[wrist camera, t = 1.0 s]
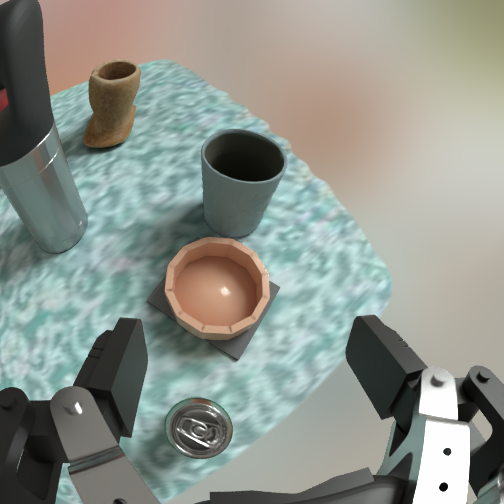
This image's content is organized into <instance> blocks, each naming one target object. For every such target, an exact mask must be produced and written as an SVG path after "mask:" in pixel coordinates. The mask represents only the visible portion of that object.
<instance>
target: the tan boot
mask: <svg viewBox="0 0 504 504" xmlns="http://www.w3.org/2000/svg"><path fill="white" fill-rule="evenodd" d="M140 75H141V71H140V68H139V66H138V65H137V64H135V63H133V62H131V61H127V60H112V61H108V62H105V63H102V64H100V65H99V66H97V67H96V68H95V69H94V70H93V72H92V74H91V76H90V79H89V101H90V105H91V108H92V110H93V112H94V113H93V115H92V117H91V120H90V122H89V124H88V126H87V129H86V132H85V135H84V144H85V145H86V146H88V147H93V148H103V147H110V146H114V145H116V144H119V143H122V142H124V141H125V140H126V139H127V137H128V136H129V134H130V132H131V129H132V126H133V122H134V116H135V111H136V106H135V105H133V101H134V99H135V96H136V94H137V91H138V88H139V83H140Z"/></svg>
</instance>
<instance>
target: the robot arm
mask: <svg viewBox="0 0 504 504" xmlns="http://www.w3.org/2000/svg"><path fill="white" fill-rule="evenodd" d="M43 38H44V35H43V19H42V12H41V8H40V4H39V2H38V0H10V1H8V2H6V3H3V4H2V5H0V91H1V90H3V89H5V88H6V93H7V99H8V105H7V106H6V107H5V108H4V109H3V110H2V111H1V112H0V186H1V188H2V190H3V191H4V193H5V195H6V196H7V198H8V200H9V201H10V203H11V205H12V206H13V208H14V209H15V211H16V212H17V214H18V215H19V217H20V219H21V220H22V222H23V223H24V224H25V226H26V227H27V229H28V230H29V232H30V233H31V235H32V236H33V237H34V239H35V240H36V241H37V243H38V244H39V245H40V247H41V248H42V249H43V250H45V251H46V252H49V253H60V252H63V251H66V250H68V249H69V248H71V247H72V246H74V245H75V244H76V243H77V242H78V241H79V240H80V238H81V237H82V236H83V234H84V232H85V230H86V227H87V222H88V218H87V213H86V210H85V208H84V206H83V203H82V201H81V198H80V195H79V193H78V190H77V188H76V185H75V182H74V180H73V177H72V174H71V171H70V169H69V166H68V163H67V160H66V157H65V154H64V151H63V148H62V144H61V141H60V138H59V135H58V131H57V128H56V124H55V121H54V117H53V113H52V109H51V102H50V93H49V87H48V81H47V75H46V67H45V57H44V39H43ZM346 359H347V362H348V364H349V365H350V367H351V369H352V370H353V372H354V374H355V375H356V377H357V379H358V380H359V382H360V384H361V385H362V387H363V389H364V390H365V392H366V394H367V396H368V397H369V399H370V400H371V402H372V404H373V406H374V408H375V409H376V411H377V413H378V414H379V416H380V418H381V419H382V420H383V419H386V418H389V417H392V416H394V418H395V421H394V422H393V424H392V427H391V432H390V436H389V440H388V444H387V449H386V452H385V456H384V459H383V463H382V465H381V467H380V469H379V470H378V472H377V473H376V475H372V474H371V472H370V470H369V468H368V467H367V468H365V469H361V470H358V471H354V472H351V473H347V474H344V475H340V476H336V477H334V478H331V479H329V480H327V481H325V482H323V483H321V484H319V485H317V486H315V487H312V488H310V489H308V490H306V491H303V492H301V493H297V494H288V493H272V492H262V491H253V490H252V491H235V492H210V500H207V501H202V502H198V503H195V504H466V496H467V487H468V482H469V483H470V485H471V487H472V489H473V491H474V493H475V495H476V496H477V500H476V501H475V502H474V503H473V504H504V385H503V384H502V382H501V381H500V380H499V379H498V378H497V377H496V376H495V375H494V374H493V373H492V372H491V371H490V370H489V369H487V368H485V367H483V366H473V367H472V368H471V369H470V371H469V372H468V374H467V376H466V377H465V378H453V376H452V375H451V374H450V373H449V372H447V371H446V370H444V369H442V368H438V367H430V368H428V367H427V366H426V365H425V364H424V362H423V361H422V360H421V359H420V358H419V357H418V356H417V355H416V353H415V352H414V351H413V350H412V349H411V348H410V347H408V344H407V343H406V342H405V341H403V339H402V338H401V337H400V336H399V335H398V334H397V333H396V331H394V330H392V329H391V328H389V327H387V326H386V325H384V324H383V323H382V322H381V320H380V319H379V318H378V317H377V316H376V315H366V316H357V317H356V318H355V320H354V322H353V326H352V329H351V333H350V336H349V340H348V343H347V346H346ZM147 364H148V355H147V349H146V344H145V338H144V332H143V326H142V322H141V320H140V319H134V318H119V320H118V322H117V324H116V326H115V328H114V330H113V331H112V330H106V331H105V332H104V333H102V334H101V335H100V336H99V337H98V338H97V339H96V341H95V343H94V345H93V346H92V349H91V350H90V352H89V354H88V357H87V358H86V360H85V362H84V364H83V366H82V368H81V370H80V372H79V374H78V376H77V378H76V380H75V382H74V384H73V386H70V387H65V388H63V389H61V390H59V391H58V392H56V393H55V395H54V396H53V397H52V399H51V400H42V401H29V399H28V398H27V396H26V394H25V393H24V392H23V391H22V390H21V389H19V388H15V387H9V388H5V389H3V390H1V391H0V504H55V500H56V494H57V489H58V483H59V478H60V474H61V469H62V465H63V463H70V466H69V467H68V472H69V475H70V477H71V480H72V482H73V484H74V486H75V488H76V490H77V492H78V494H79V496H80V498H81V500H82V502H83V503H84V504H161V503H160V502H159V501H158V500H157V498H156V497H155V496H154V495H153V493H152V492H151V491H150V489H149V488H148V487H147V486H146V484H145V483H144V482H143V480H142V479H141V477H140V476H139V475H138V473H137V472H136V470H135V469H134V467H133V466H132V464H131V463H130V461H129V460H128V458H127V457H126V455H125V454H124V452H123V451H122V449H121V448H120V446H119V441H120V437H121V436H123V437H129V438H131V437H132V431H133V427H134V422H135V417H136V412H137V408H138V403H139V399H140V395H141V391H142V386H143V382H144V378H145V374H146V370H147ZM479 409H480V410H481V412H482V413H483V414H484V416H485V417H486V419H487V420H488V421H489V423H490V424H491V426H492V429H493V431H492V435H491V437H490V438H489V439H488V440H487V442H486V441H485V439H484V438H483V437H482V435H481V434H480V432H479V431H478V429H477V428H476V426H475V425H474V423H473V422H472V418H473V417H474V416H475V414H476V413H477V412H478V410H479ZM23 449H24V450H23ZM22 451H23V453H22ZM21 454H22V456H21ZM20 457H21V459H20ZM19 460H20V463H19ZM18 464H19V466H18ZM17 467H18V469H17ZM16 472H17V473H16Z"/></svg>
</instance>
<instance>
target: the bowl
mask: <svg viewBox="0 0 504 504" xmlns="http://www.w3.org/2000/svg"><path fill="white" fill-rule="evenodd" d="M165 294H166V298H167V302H168V304H169V306H170V308H171V310H172V313H173V315H174V317H175V318H176V320H177V322H178V324H179V325H181V326H182V327H183V328H184V329H186V330H187V331H188V332H190V333H192V334H193V335H195V336H198V337H199V338H201V339H207V340H229V339H231V338H233V337H236V336H238V335H240V334H242V333H243V332H245V331H246V330H248V329H250V328H251V327H252V326H253V325H254V324H255V322H256V321H257V320H258V318H259V316H260V314H261V313H262V311H263V309H264V308H265V306H266V304H267V302H268V301H269V299H270V291H269V273H268V271H267V270H266V268H265V267H264V265H263V264H262V262H261V260H260V259H259V257H258V256H257V254H256V253H255V252H254V251H253V250H251V249H249V248H247V247H246V246H244V245H242V244H241V243H239V242H237V241H236V240H234V239H228V238H217V237H205V238H203V239H200V240H197V241H195V242H192V243H190V244H187V245H185V246H183V247H182V249H181V250H180V251H179V252H178V253H177V255H176V256H175V257H174V258H173V260H172V261H171V262H170V263H169V264H168V268H167V276H166V284H165Z"/></svg>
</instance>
